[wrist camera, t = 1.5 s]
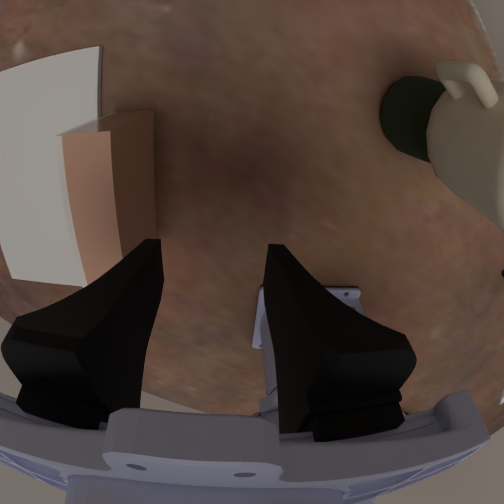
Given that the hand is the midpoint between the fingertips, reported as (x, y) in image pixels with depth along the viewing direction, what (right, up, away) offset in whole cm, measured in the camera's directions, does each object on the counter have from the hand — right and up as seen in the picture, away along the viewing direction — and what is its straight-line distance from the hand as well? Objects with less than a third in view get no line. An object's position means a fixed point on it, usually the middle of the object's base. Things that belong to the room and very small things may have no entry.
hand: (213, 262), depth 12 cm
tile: (-7, +6, +8) cm, 12 cm away
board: (-16, +6, +7) cm, 19 cm away
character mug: (+14, +11, +7) cm, 19 cm away
